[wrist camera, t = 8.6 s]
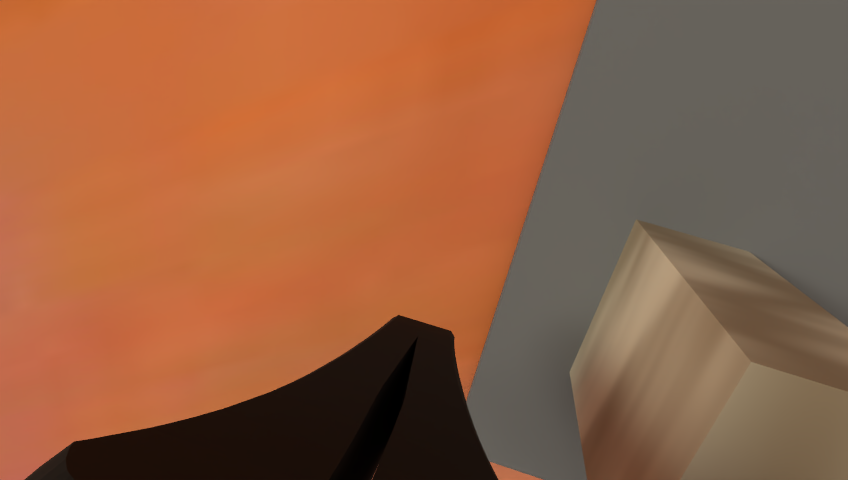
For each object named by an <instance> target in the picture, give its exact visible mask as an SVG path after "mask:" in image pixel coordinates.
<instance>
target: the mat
mask: <svg viewBox="0 0 848 480" xmlns="http://www.w3.org/2000/svg"><path fill="white" fill-rule="evenodd" d="M636 219H637V220H640V221H644V222H647V223H651V224H654V225H658V226H661V227H665V228H668V229H672V230H675V231H679V232H682V233H685V234H689V235H692V236H696V237H699V238H703V239H706V240H710V241H713V242H717V243H720V244H724V245H727V246H731V247H734V248H738V249H741V250H745V251H748V252H750V253H752V254H753V255H754V256H756V257H757V258H758V259H759V260H761V261H762V262H763V263H765V264H766V265H767V266H769V267H770V268H771V269H773V270H774V271H775V272H776V273H778V274H779V275H780V276H782V277H783V278H784V279H786V280H787V281H788V282H790V283H791V284H792V285H793V286H795V287H796V288H797V289H799V290H800V291H801V292H803V293H804V294H805V295H807V296H808V297H809V298H810V299H812V300H813V301H814V302H816V303H817V304H818V305H820V306H821V307H822V308H824V309H825V310H826V311H827V312H829V313H830V314H831V315H833V316H834V317H835V318H837V319H838V320H839V321H840V322H842V323H843V324H844V325H846V326H847V327H848V0H597V1H596V4H595V7H594V10H593V13H592V16H591V19H590V22H589V25H588V28H587V31H586V35H585V38H584V41H583V44H582V47H581V50H580V53H579V56H578V59H577V62H576V65H575V68H574V71H573V75H572V78H571V81H570V84H569V87H568V90H567V93H566V96H565V99H564V102H563V105H562V108H561V111H560V115H559V118H558V121H557V124H556V127H555V130H554V133H553V136H552V139H551V142H550V145H549V148H548V151H547V154H546V158H545V161H544V164H543V167H542V170H541V173H540V176H539V179H538V182H537V185H536V188H535V191H534V194H533V198H532V201H531V204H530V207H529V210H528V213H527V216H526V219H525V222H524V225H523V228H522V231H521V234H520V238H519V241H518V244H517V247H516V250H515V253H514V256H513V259H512V262H511V265H510V268H509V271H508V274H507V278H506V281H505V284H504V287H503V290H502V293H501V296H500V299H499V302H498V305H497V308H496V311H495V314H494V318H493V321H492V324H491V327H490V330H489V333H488V336H487V339H486V342H485V345H484V348H483V351H482V354H481V357H480V361H479V364H478V367H477V370H476V373H475V376H474V379H473V382H472V385H471V388H470V391H469V394H468V397H467V401H466V403H467V407H468V410H469V413H470V415H471V418H472V421H473V424H474V427H475V429H476V432H477V435H478V437H479V440H480V442H481V444H482V447H483V449H484V451H485V453H486V456H487V458H488V460H489V461H490V462H493V463H496V464H499V465H502V466H505V467H508V468H511V469H514V470H517V471H520V472H523V473H526V474H529V475H532V476H535V477H538V478H541V479H544V480H587V476H586V470H585V464H584V458H583V452H582V445H581V439H580V433H579V427H578V421H577V415H576V409H575V403H574V397H573V390H572V384H571V378H570V370H571V368H572V365H573V363H574V361H575V358H576V356H577V354H578V351H579V349H580V347H581V345H582V342H583V340H584V338H585V335H586V333H587V331H588V329H589V326H590V324H591V322H592V319H593V317H594V315H595V312H596V310H597V308H598V306H599V303H600V301H601V299H602V296H603V294H604V292H605V290H606V287H607V285H608V283H609V280H610V278H611V276H612V273H613V271H614V269H615V267H616V264H617V262H618V260H619V257H620V255H621V253H622V251H623V248H624V246H625V244H626V241H627V239H628V237H629V234H630V232H631V230H632V228H633V225H634V223H635V221H636Z"/></svg>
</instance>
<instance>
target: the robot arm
mask: <svg viewBox="0 0 848 480" xmlns="http://www.w3.org/2000/svg"><path fill="white" fill-rule="evenodd" d="M376 469H377V470H376ZM375 471H376V472H375ZM374 473H375V474H374ZM373 475H374V477H373ZM372 478H373V479H372ZM25 480H498V478H497V476H496V474H495V472H494V470H493V468H492V466H491V464H490V462H489V460H488V458H487V456H486V453H485V451H484V449H483V447H482V444H481V442H480V440H479V437H478V435H477V432H476V429H475V427H474V424H473V421H472V418H471V415H470V413H469V410H468V407H467V403H466V400H465V397H464V393H463V389H462V385H461V382H460V378H459V373H458V369H457V363H456V357H455V349H454V335H453V334H452V332H451V331H449V330H446V329H443V328H439V327H436V326H433V325H429V324H426V323H423V322H420V321H416V320H413V319H410V318H407V317H403V316H400V315H398V316H396V317H394V318H392V319H391V320H390V321H389V322H388V323H386V324H385V325H384V326H383V327H381V328H380V329H379V330H377V331H376V332H375V333H373V334H372V335H371V336H369V337H368V338H367V339H365V340H364V341H362V342H361V343H359V344H358V345H356V346H355V347H353V348H352V349H350V350H349V351H347V352H346V353H344V354H343V355H341V356H340V357H338V358H336V359H334V360H333V361H331V362H329V363H327V364H326V365H324V366H322V367H321V368H319V369H317V370H315V371H314V372H312V373H310V374H308V375H306V376H304V377H302V378H300V379H298V380H296V381H294V382H292V383H289V384H287V385H285V386H283V387H281V388H278V389H276V390H274V391H272V392H269V393H266V394H264V395H261V396H258V397H255V398H252V399H250V400H247V401H244V402H241V403H238V404H236V405H233V406H230V407H227V408H224V409H221V410H217V411H214V412H211V413H207V414H204V415H200V416H197V417H193V418H189V419H185V420H181V421H177V422H173V423H169V424H165V425H160V426H156V427H152V428H147V429H141V430H136V431H131V432H126V433H120V434H115V435H110V436H104V437H99V438H94V439H88V440H81V441H75V442H73V443H72V444H70V445H69V446H68V447H66V448H65V449H64V450H62V451H61V452H59V453H58V454H57V455H55V456H54V457H53V458H51V459H50V460H49V461H47V462H46V463H44V464H43V465H42V466H40V467H39V468H38V469H37V470H36V471H34V472H33V473H32V474H31V475H30V476H28V477H27V478H26V479H25Z"/></svg>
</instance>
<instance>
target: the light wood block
mask: <svg viewBox="0 0 848 480" xmlns="http://www.w3.org/2000/svg"><path fill="white" fill-rule="evenodd" d="M570 378H571V384H572V390H573V397H574V403H575V409H576V415H577V421H578V427H579V433H580V439H581V445H582V452H583V458H584V464H585V470H586V476H587V480H848V327H847V326H846V325H844V324H843V323H842V322H840V321H839V320H838V319H837V318H835V317H834V316H833V315H831V314H830V313H829V312H827V311H826V310H825V309H824V308H822V307H821V306H820V305H818V304H817V303H816V302H814V301H813V300H812V299H810V298H809V297H808V296H807V295H805V294H804V293H803V292H801V291H800V290H799V289H797V288H796V287H795V286H793V285H792V284H791V283H790V282H788V281H787V280H786V279H784V278H783V277H782V276H780V275H779V274H778V273H776V272H775V271H774V270H773V269H771V268H770V267H769V266H767V265H766V264H765V263H763V262H762V261H761V260H759V259H758V258H757V257H756V256H754V255H753V254H752V253H750V252H748V251H745V250H741V249H738V248H734V247H731V246H727V245H724V244H720V243H717V242H713V241H710V240H706V239H703V238H699V237H696V236H692V235H689V234H685V233H682V232H679V231H675V230H672V229H668V228H665V227H661V226H658V225H654V224H651V223H647V222H644V221H640V220H637V219H636V221H635V223H634V225H633V228H632V230H631V232H630V234H629V237H628V239H627V241H626V244H625V246H624V248H623V251H622V253H621V255H620V257H619V260H618V262H617V264H616V267H615V269H614V271H613V273H612V276H611V278H610V280H609V283H608V285H607V287H606V290H605V292H604V294H603V296H602V299H601V301H600V303H599V306H598V308H597V310H596V312H595V315H594V317H593V319H592V322H591V324H590V326H589V329H588V331H587V333H586V335H585V338H584V340H583V342H582V345H581V347H580V349H579V351H578V354H577V356H576V358H575V361H574V363H573V365H572V368H571V370H570Z"/></svg>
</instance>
